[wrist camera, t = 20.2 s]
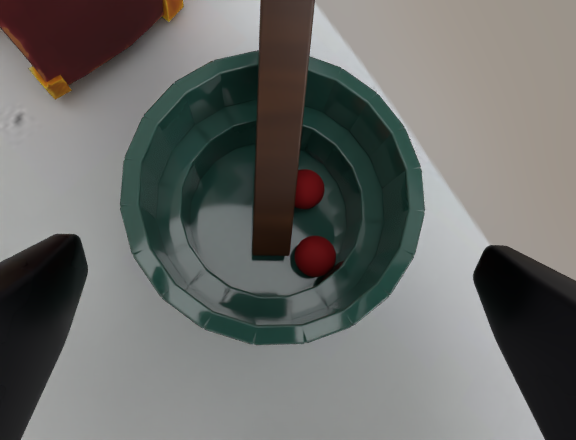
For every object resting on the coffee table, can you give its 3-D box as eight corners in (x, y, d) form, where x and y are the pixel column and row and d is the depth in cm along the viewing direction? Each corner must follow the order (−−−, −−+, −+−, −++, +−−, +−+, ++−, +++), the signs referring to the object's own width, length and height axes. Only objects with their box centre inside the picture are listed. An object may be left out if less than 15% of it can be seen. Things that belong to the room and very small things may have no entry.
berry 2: (311, 270, 18) (335, 285, 16) (281, 265, 16) (304, 280, 15) (324, 235, 17) (350, 247, 16) (294, 226, 16) (319, 238, 15)
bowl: (412, 243, 18) (481, 221, 13) (243, 377, 16) (241, 417, 11) (291, 85, 19) (308, 5, 14) (116, 193, 17) (58, 146, 12)
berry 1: (337, 197, 17) (320, 193, 15) (306, 217, 18) (287, 216, 16) (320, 164, 17) (301, 158, 16) (290, 185, 18) (270, 181, 17)
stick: (289, 257, 16) (326, -115, 10) (252, 256, 16) (265, -122, 10) (287, 236, 17) (317, -101, 11) (252, 235, 17) (264, -107, 11)
